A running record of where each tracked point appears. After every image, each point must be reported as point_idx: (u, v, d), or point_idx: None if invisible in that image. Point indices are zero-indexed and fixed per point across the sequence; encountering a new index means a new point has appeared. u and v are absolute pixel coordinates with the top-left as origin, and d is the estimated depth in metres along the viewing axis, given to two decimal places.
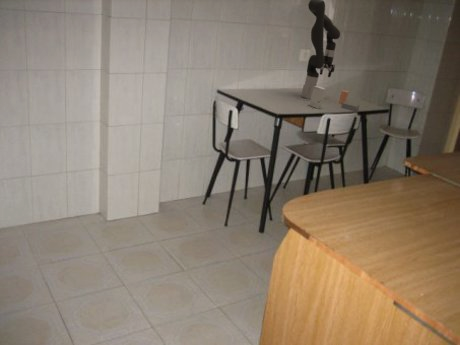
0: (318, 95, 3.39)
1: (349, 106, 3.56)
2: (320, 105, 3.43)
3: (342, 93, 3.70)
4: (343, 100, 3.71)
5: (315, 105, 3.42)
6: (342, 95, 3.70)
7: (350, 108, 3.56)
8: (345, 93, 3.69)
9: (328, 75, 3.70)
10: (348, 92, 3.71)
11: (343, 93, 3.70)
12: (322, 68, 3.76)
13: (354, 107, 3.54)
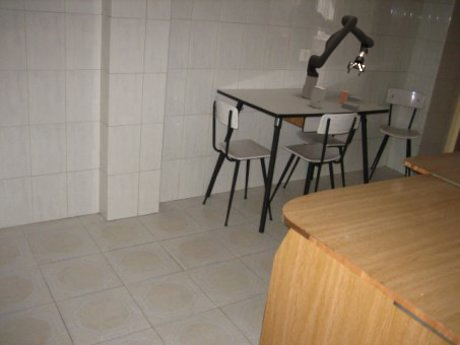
0: (318, 95, 3.39)
1: (349, 106, 3.56)
2: (320, 105, 3.43)
3: (342, 93, 3.70)
4: (343, 100, 3.71)
5: (315, 105, 3.42)
6: (342, 95, 3.70)
7: (350, 108, 3.56)
8: (345, 93, 3.69)
9: (359, 73, 3.74)
10: (348, 92, 3.71)
11: (343, 93, 3.70)
12: (350, 68, 3.80)
13: (354, 107, 3.54)
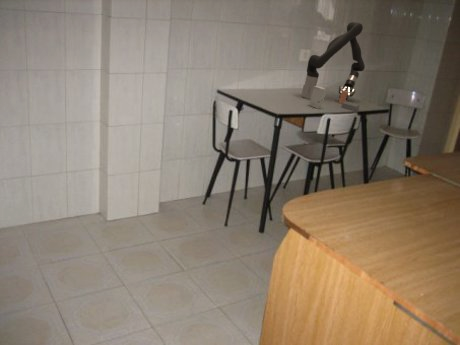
0: (318, 95, 3.39)
1: (349, 106, 3.56)
2: (320, 105, 3.43)
3: (342, 93, 3.70)
4: (343, 100, 3.71)
5: (315, 105, 3.42)
6: (342, 95, 3.70)
7: (350, 108, 3.56)
8: (345, 93, 3.69)
9: (346, 97, 3.70)
10: None
11: (343, 93, 3.70)
12: None
13: (354, 107, 3.54)
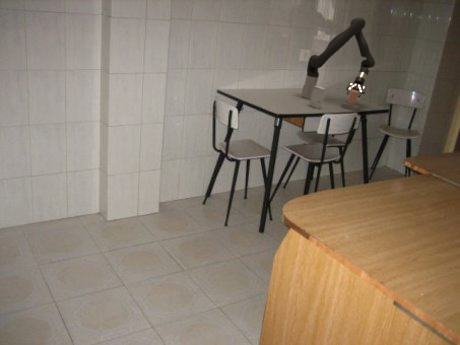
0: (319, 95, 3.39)
1: (349, 106, 3.56)
2: (320, 105, 3.43)
3: (351, 93, 3.55)
4: (352, 101, 3.57)
5: (315, 105, 3.42)
6: (351, 96, 3.56)
7: (350, 108, 3.56)
8: (354, 93, 3.54)
9: (359, 94, 3.54)
10: (357, 92, 3.57)
11: (352, 94, 3.55)
12: None
13: (354, 107, 3.54)
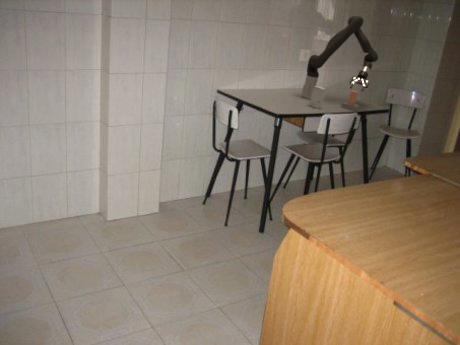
0: (318, 95, 3.39)
1: (349, 106, 3.56)
2: (320, 105, 3.43)
3: (351, 93, 3.56)
4: (352, 100, 3.57)
5: (315, 105, 3.42)
6: (351, 96, 3.56)
7: (350, 108, 3.56)
8: (354, 93, 3.55)
9: (362, 88, 3.57)
10: (357, 92, 3.57)
11: (352, 93, 3.55)
12: (353, 83, 3.63)
13: (354, 107, 3.54)
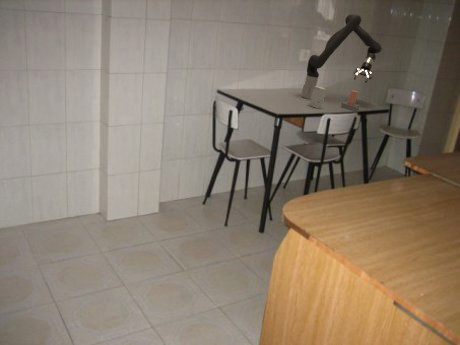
0: (318, 95, 3.39)
1: (349, 106, 3.56)
2: (320, 105, 3.43)
3: (351, 93, 3.56)
4: (352, 100, 3.57)
5: (315, 105, 3.42)
6: (351, 95, 3.56)
7: (350, 108, 3.56)
8: (354, 93, 3.55)
9: (366, 80, 3.62)
10: (357, 92, 3.57)
11: (352, 93, 3.56)
12: None
13: (354, 107, 3.54)
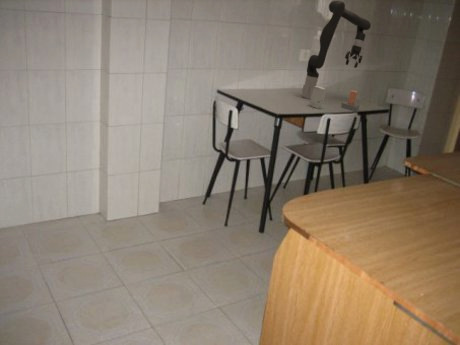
0: (318, 95, 3.39)
1: (349, 106, 3.56)
2: (320, 105, 3.43)
3: (351, 93, 3.56)
4: (352, 100, 3.57)
5: (315, 105, 3.42)
6: (351, 95, 3.56)
7: (350, 108, 3.56)
8: (354, 93, 3.55)
9: (356, 66, 3.73)
10: (357, 92, 3.57)
11: (352, 93, 3.55)
12: None
13: (354, 107, 3.54)
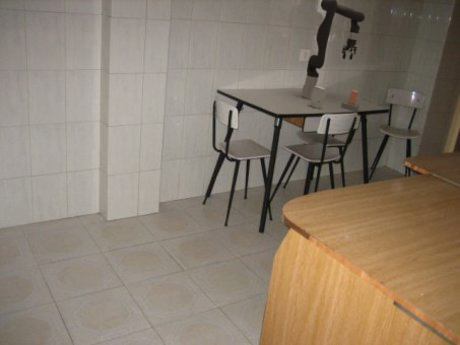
0: (318, 95, 3.39)
1: (349, 106, 3.56)
2: (320, 105, 3.43)
3: (351, 93, 3.56)
4: (352, 100, 3.57)
5: (315, 105, 3.42)
6: (351, 95, 3.57)
7: (350, 108, 3.56)
8: (354, 93, 3.55)
9: None
10: (358, 92, 3.57)
11: (352, 93, 3.56)
12: (344, 52, 3.71)
13: (354, 107, 3.54)
